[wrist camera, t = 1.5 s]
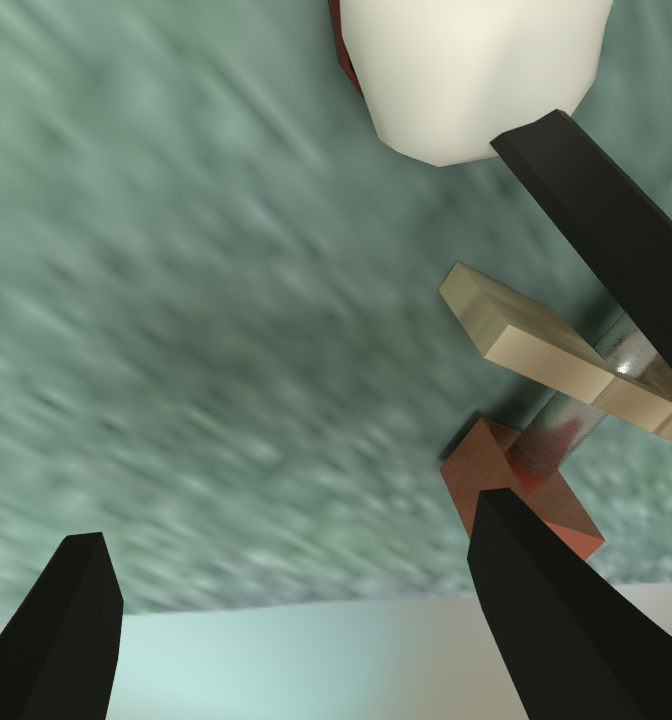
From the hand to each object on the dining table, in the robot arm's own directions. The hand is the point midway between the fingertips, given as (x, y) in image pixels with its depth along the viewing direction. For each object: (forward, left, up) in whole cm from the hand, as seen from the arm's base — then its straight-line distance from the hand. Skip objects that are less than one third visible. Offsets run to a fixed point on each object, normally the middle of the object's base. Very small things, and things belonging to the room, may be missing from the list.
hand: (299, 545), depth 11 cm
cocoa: (0, -10, -11) cm, 14 cm away
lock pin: (-11, -2, -10) cm, 15 cm away
